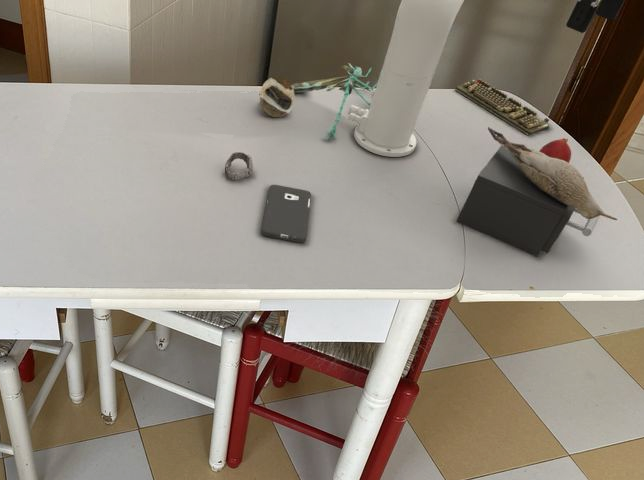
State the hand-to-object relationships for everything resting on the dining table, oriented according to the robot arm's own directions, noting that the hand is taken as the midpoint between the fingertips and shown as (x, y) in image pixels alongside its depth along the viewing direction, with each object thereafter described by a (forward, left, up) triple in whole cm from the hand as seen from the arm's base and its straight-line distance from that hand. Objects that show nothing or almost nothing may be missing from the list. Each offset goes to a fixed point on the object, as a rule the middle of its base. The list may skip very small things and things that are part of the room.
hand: (590, 23), depth 112 cm
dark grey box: (+4, -14, -30) cm, 34 cm away
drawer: (+8, -14, -29) cm, 33 cm away
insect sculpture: (-36, -13, -30) cm, 49 cm away
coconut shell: (-47, -11, -26) cm, 55 cm away
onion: (+5, +8, -31) cm, 32 cm away
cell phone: (-28, -40, -29) cm, 57 cm away
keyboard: (-11, +28, -32) cm, 44 cm away
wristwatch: (-44, -35, -29) cm, 63 cm away
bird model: (+6, -15, -15) cm, 22 cm away
